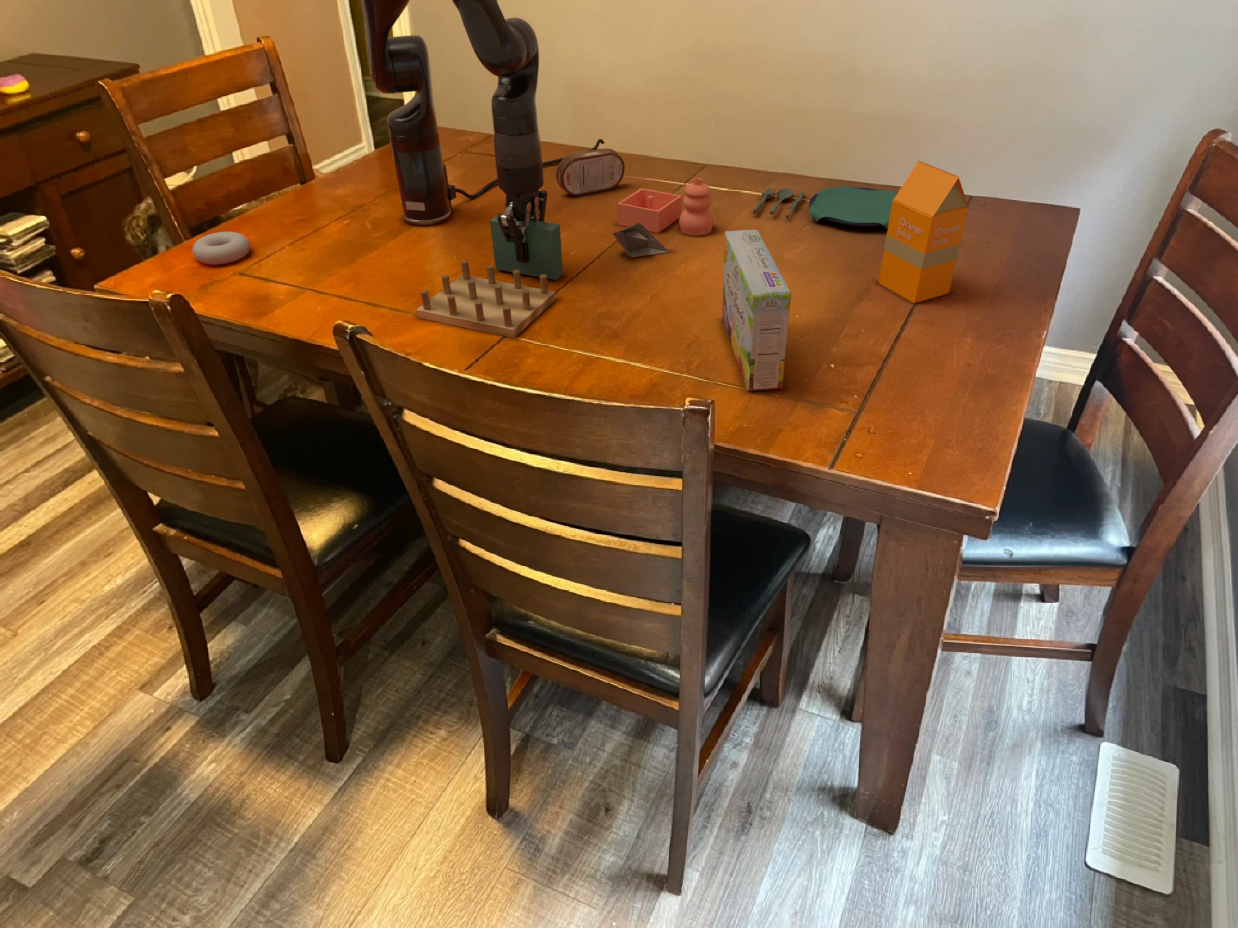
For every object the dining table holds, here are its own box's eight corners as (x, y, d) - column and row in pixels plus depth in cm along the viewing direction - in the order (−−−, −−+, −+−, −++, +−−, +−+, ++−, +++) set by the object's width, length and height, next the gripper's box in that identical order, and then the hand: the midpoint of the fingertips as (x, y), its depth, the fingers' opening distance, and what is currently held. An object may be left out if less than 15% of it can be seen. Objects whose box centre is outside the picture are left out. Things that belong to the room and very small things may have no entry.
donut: (184, 266, 156) (233, 269, 155) (178, 248, 154) (227, 251, 153) (215, 244, 164) (262, 246, 162) (209, 227, 162) (257, 229, 160)
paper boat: (650, 232, 161) (685, 233, 154) (642, 266, 162) (676, 268, 155) (603, 211, 153) (638, 211, 146) (595, 247, 153) (629, 248, 147)
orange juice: (913, 303, 139) (939, 181, 127) (877, 282, 145) (898, 164, 133) (949, 292, 141) (978, 172, 129) (912, 272, 148) (936, 155, 136)
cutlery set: (904, 239, 159) (906, 228, 158) (747, 220, 168) (747, 208, 167) (916, 202, 174) (918, 191, 172) (770, 186, 183) (771, 175, 181)
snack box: (718, 320, 135) (723, 229, 126) (753, 318, 136) (760, 227, 127) (745, 393, 119) (753, 293, 110) (784, 390, 119) (796, 291, 110)
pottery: (617, 224, 168) (616, 174, 162) (641, 208, 174) (641, 159, 168) (700, 241, 160) (702, 190, 154) (721, 224, 167) (724, 174, 161)
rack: (463, 282, 148) (460, 258, 146) (555, 299, 142) (554, 274, 140) (417, 317, 138) (412, 292, 136) (514, 338, 132) (511, 311, 130)
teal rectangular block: (503, 263, 153) (497, 214, 148) (563, 273, 150) (559, 224, 144) (495, 269, 151) (489, 220, 146) (555, 280, 147) (552, 230, 142)
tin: (620, 183, 186) (619, 143, 181) (627, 187, 184) (626, 148, 179) (556, 195, 181) (554, 155, 176) (562, 200, 179) (559, 159, 174)
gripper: (519, 142, 145) (528, 239, 155) (476, 168, 134) (488, 270, 145) (558, 147, 142) (564, 245, 153) (517, 174, 132) (527, 277, 143)
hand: (527, 257), depth 149 cm, fingers closed on teal rectangular block, 3 cm apart
